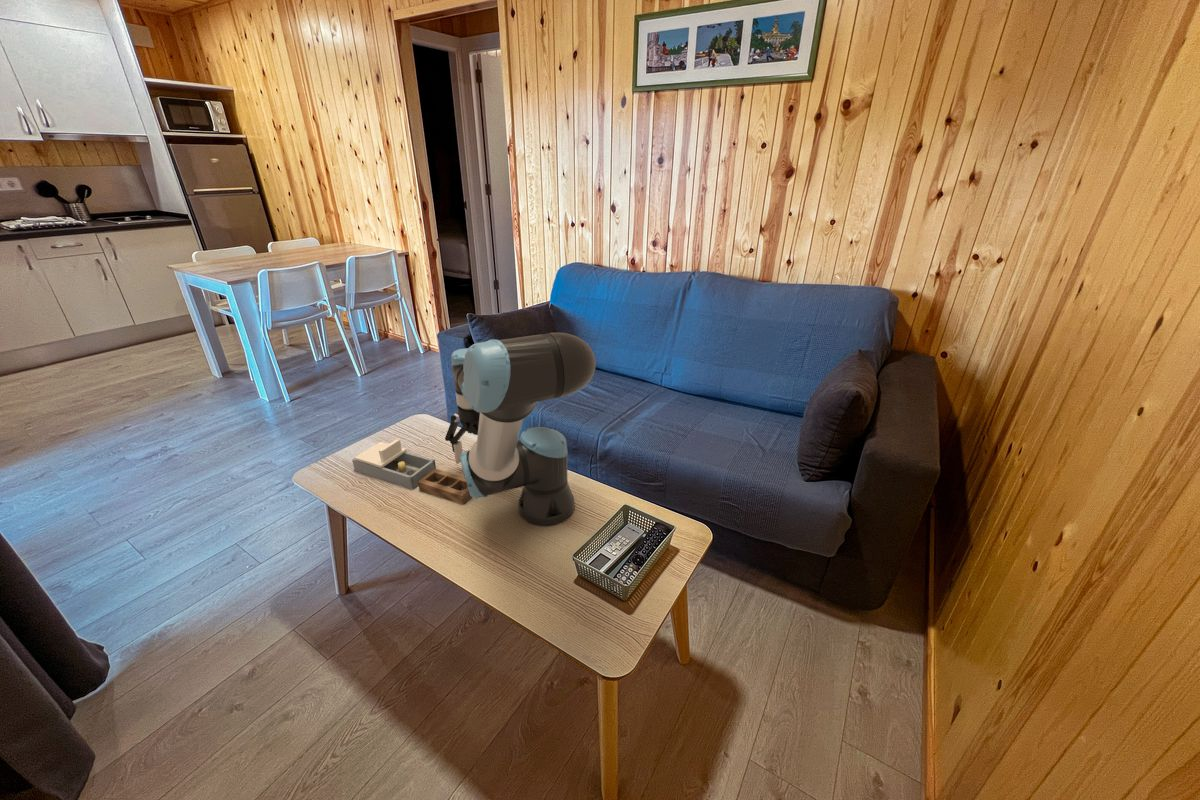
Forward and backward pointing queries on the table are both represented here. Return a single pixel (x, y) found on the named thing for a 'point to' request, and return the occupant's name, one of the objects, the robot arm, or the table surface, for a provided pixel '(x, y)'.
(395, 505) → the table surface
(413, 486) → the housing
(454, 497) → the wooden compartment rack
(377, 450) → the lid
